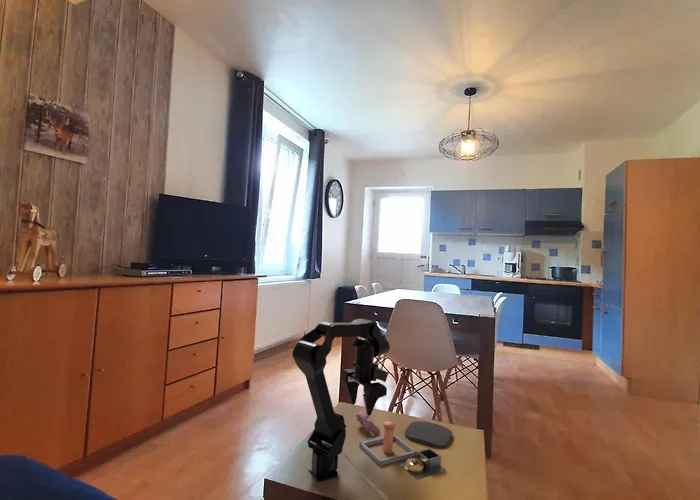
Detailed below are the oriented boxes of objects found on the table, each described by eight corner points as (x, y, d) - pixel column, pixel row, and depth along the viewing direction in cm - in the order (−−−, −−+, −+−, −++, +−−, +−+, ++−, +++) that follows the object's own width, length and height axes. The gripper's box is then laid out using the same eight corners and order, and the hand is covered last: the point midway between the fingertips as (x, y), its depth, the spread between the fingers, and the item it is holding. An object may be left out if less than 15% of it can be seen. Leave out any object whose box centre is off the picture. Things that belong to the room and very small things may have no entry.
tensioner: (417, 483, 99) (418, 468, 100) (397, 465, 107) (398, 452, 107) (446, 473, 105) (447, 459, 105) (425, 457, 113) (426, 444, 113)
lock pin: (386, 456, 111) (387, 427, 111) (379, 450, 114) (381, 422, 114) (395, 453, 113) (397, 425, 113) (388, 448, 116) (390, 420, 116)
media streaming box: (401, 441, 122) (401, 432, 123) (414, 425, 135) (414, 417, 135) (444, 455, 116) (445, 445, 116) (454, 436, 129) (454, 427, 129)
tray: (379, 469, 105) (380, 461, 105) (359, 449, 115) (359, 442, 115) (416, 458, 112) (416, 451, 112) (393, 441, 122) (394, 434, 122)
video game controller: (358, 428, 133) (351, 412, 132) (368, 421, 135) (362, 405, 133) (371, 441, 124) (364, 424, 123) (382, 433, 126) (375, 416, 124)
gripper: (402, 365, 111) (399, 417, 110) (369, 350, 127) (367, 395, 127) (372, 369, 105) (368, 423, 105) (341, 352, 121) (338, 399, 121)
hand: (361, 409), depth 114 cm, fingers open, 9 cm apart
